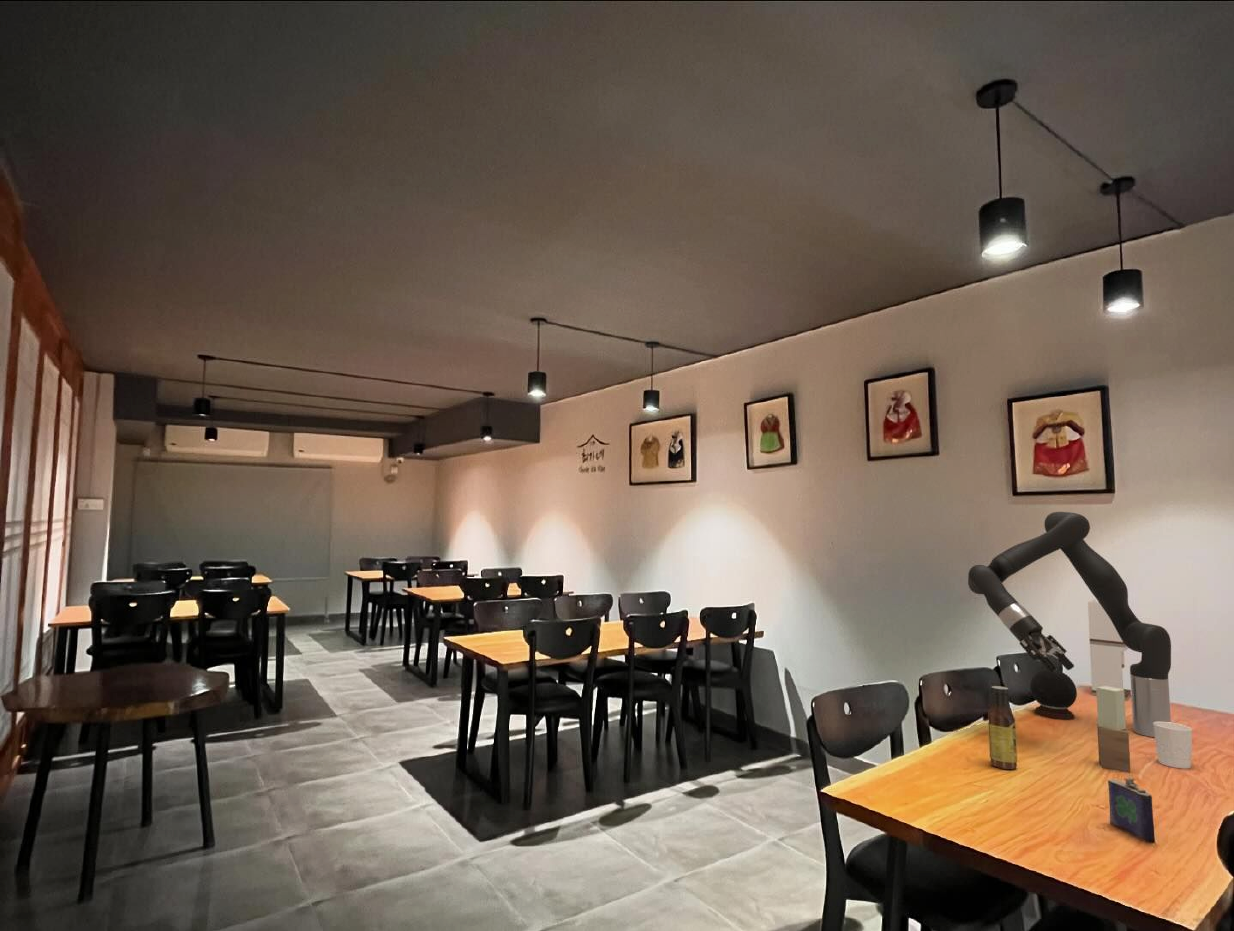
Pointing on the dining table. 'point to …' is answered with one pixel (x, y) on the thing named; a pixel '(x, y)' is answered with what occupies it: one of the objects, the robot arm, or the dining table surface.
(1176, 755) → the white cup
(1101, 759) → the tower lower
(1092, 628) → the mini white fridge
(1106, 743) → the tower upper
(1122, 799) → the flask
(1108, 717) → the sage block
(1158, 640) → the robot arm
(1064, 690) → the black oval
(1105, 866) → the dining table surface
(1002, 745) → the sauce bottle
